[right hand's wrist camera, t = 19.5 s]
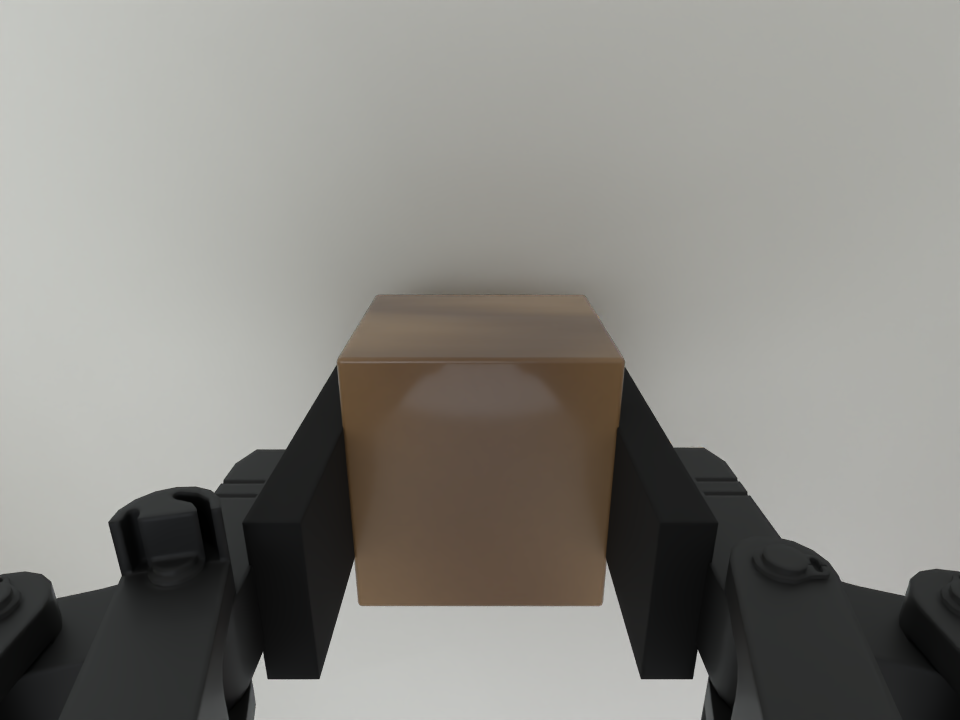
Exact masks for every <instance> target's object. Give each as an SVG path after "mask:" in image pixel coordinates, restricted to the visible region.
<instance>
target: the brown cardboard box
mask: <svg viewBox="0 0 960 720" xmlns="http://www.w3.org/2000/svg"><path fill="white" fill-rule="evenodd" d="M624 368H625V361H624V358H623V356H622V355H621V353H620V352H619V350H618V348H617V347H616V345H615V343H614V342H613V340H612V339H611V337H610V335H609V334H608V332H607V330H606V329H605V327H604V326H603V324H602V322H601V321H600V319H599V317H598V316H597V314H596V313H595V311H594V309H593V308H592V306H591V304H590V303H589V301H588V300H587V298H586V296H584V295H377V296H376V297H375V298H374V300H373V302H372V303H371V305H370V306H369V308H368V310H367V311H366V313H365V315H364V316H363V318H362V320H361V321H360V323H359V325H358V326H357V328H356V330H355V331H354V333H353V334H352V336H351V338H350V339H349V341H348V343H347V344H346V346H345V348H344V349H343V351H342V353H341V354H340V356H339V357H338V360H337V370H338V381H339V392H340V404H341V415H342V426H343V430H344V442H345V453H346V464H347V475H348V486H349V498H350V509H351V520H352V531H353V543H354V554H355V558H354V561H355V573H356V584H357V595H358V603H359V605H361V606H601V605H602V603H603V596H604V585H605V574H606V563H607V560H606V548H607V537H608V526H609V515H610V504H611V493H612V481H613V470H614V459H615V448H616V437H617V428H618V427H619V422H620V411H621V400H622V389H623V378H624Z"/></svg>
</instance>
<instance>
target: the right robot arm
mask: <svg viewBox="0 0 960 720" xmlns="http://www.w3.org/2000/svg"><path fill="white" fill-rule="evenodd" d="M108 523H109V527H110V531H111V535H112V539H113V543H114V547H115V551H116V555H117V558H118V562H119V566H120V570H121V574H122V577H121V579H120V581H119V584H118V585H115V586H111V587H107V588H104V589H99V590H95V591H90V592H85V593H80V594H76V595H71V596H66V597H62V598H57V599H56V596H55V593H54V590H53V586H52V583H51V581H50V580H48V579H47V578H46V577H45V576H43V575H42V574H38V573H31V572H17V573H9V574H2V575H0V720H254V715H255V706H256V703H255V696H254V689H253V683H252V677H253V674H254V672H255V669H256V667H257V665H258V662H259V660H260V657H261V655H262V652H263V654H264V660H265V666H266V672H267V678H268V679H320V675H321V672H322V669H323V665H324V662H325V658H326V655H327V651H328V648H329V644H330V641H331V638H332V634H333V631H334V627H335V624H336V620H337V617H338V613H339V610H340V607H341V603H342V600H343V596H344V593H345V589H346V586H347V582H348V579H349V576H350V572H351V569H352V565H353V562H354V558H355V554H354V543H353V531H352V520H351V509H350V498H349V486H348V475H347V464H346V453H345V442H344V430H343V426H342V415H341V404H340V392H339V381H338V370H337V365H336V367H335V369H334V370H333V372H332V374H331V375H330V377H329V379H328V380H327V382H326V384H325V385H324V387H323V389H322V390H321V392H320V394H319V395H318V397H317V399H316V400H315V402H314V404H313V405H312V407H311V409H310V410H309V412H308V414H307V415H306V417H305V419H304V420H303V422H302V424H301V425H300V427H299V429H298V430H297V432H296V434H295V435H294V437H293V439H292V440H291V442H290V444H289V445H288V447H287V449H286V450H255V451H254V452H252V453H251V454H249V455H248V456H246V457H245V458H243V459H242V460H240V461H239V462H237V463H236V464H235V465H234V467H233V468H232V469H231V471H230V472H229V473H228V475H227V476H226V478H225V479H224V482H223V484H220V486H219V487H218V489H217V490H216V491H215V493H214V492H212V491H211V490H208V489H203V488H199V487H175V488H170V489H165V490H161V491H156V492H153V493H151V494H148V495H146V496H143V497H140V498H138V499H135V500H134V501H132V502H131V503H129V504H128V505H126V506H124V507H123V508H121V509H120V510H118V512H117V513H116V514H115V515H114V516H113V517H112V518H111V520H110V521H109V522H108ZM606 560H607V564H608V567H609V571H610V574H611V577H612V581H613V584H614V588H615V591H616V595H617V598H618V602H619V605H620V608H621V612H622V615H623V619H624V622H625V626H626V629H627V633H628V636H629V639H630V643H631V646H632V650H633V653H634V657H635V660H636V664H637V667H638V670H639V674H640V677H641V679H693V675H694V669H695V662H696V656H697V650H698V651H699V653H700V656H701V658H702V660H703V663H704V665H705V668H706V670H707V672H708V675H709V678H708V683H707V689H706V695H705V700H704V706H703V712H702V717H701V720H960V572H958V571H950V570H941V569H932V570H926V571H920V572H918V573H917V574H916V575H915V576H914V577H912V578H911V579H910V582H909V585H908V588H907V592H906V595H905V596H902V595H897V594H893V593H888V592H883V591H878V590H874V589H869V588H864V587H860V586H856V585H852V584H848V583H845V582H841V580H840V578H839V576H838V574H837V573H836V571H835V570H834V569H833V567H832V566H831V565H830V563H829V562H828V561H827V560H825V559H824V558H823V557H821V556H820V555H819V554H817V553H816V552H815V551H813V550H811V549H809V548H807V547H805V546H802V545H800V544H798V543H796V542H794V541H790V540H785V539H781V537H780V536H779V535H778V533H777V532H776V531H775V529H774V528H773V526H772V525H771V524H770V522H769V521H768V520H767V518H766V517H765V515H764V514H763V513H762V511H761V510H760V509H759V507H758V506H757V504H756V503H755V502H754V500H753V499H752V498H751V496H748V495H747V491H746V489H745V488H744V487H743V485H742V484H741V483H740V482H738V481H737V477H736V476H735V474H734V473H733V472H732V470H731V469H730V468H729V466H728V465H727V463H726V462H725V461H723V460H722V459H720V458H719V457H717V456H716V455H714V454H713V453H711V452H710V451H708V450H707V449H705V448H673V446H672V445H671V443H670V441H669V440H668V438H667V436H666V435H665V433H664V431H663V430H662V428H661V426H660V425H659V423H658V421H657V420H656V418H655V416H654V415H653V413H652V411H651V410H650V408H649V406H648V405H647V403H646V401H645V400H644V398H643V396H642V395H641V393H640V391H639V390H638V388H637V386H636V385H635V383H634V381H633V380H632V378H631V376H630V375H629V373H628V371H627V370H626V368H624V378H623V389H622V400H621V411H620V422H619V427H618V428H617V437H616V448H615V459H614V470H613V481H612V493H611V504H610V515H609V526H608V537H607V548H606Z"/></svg>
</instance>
